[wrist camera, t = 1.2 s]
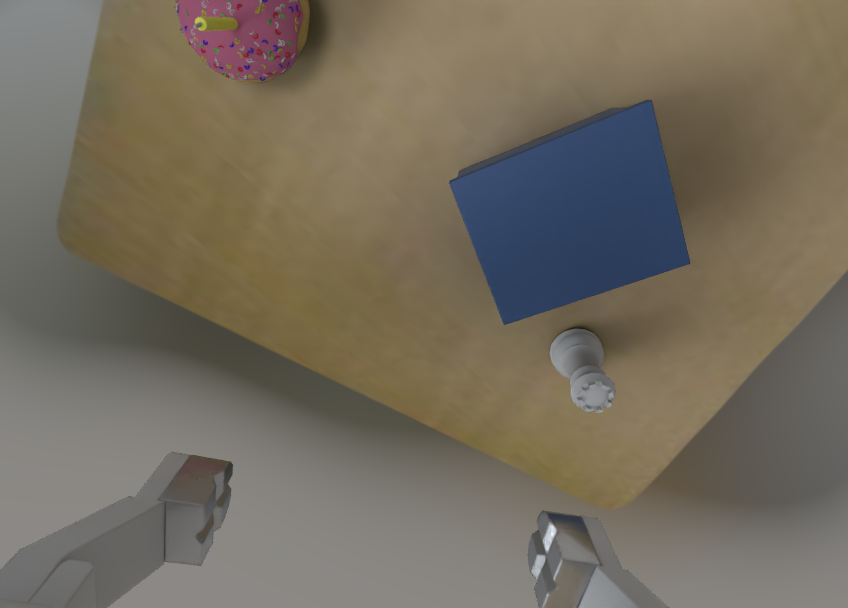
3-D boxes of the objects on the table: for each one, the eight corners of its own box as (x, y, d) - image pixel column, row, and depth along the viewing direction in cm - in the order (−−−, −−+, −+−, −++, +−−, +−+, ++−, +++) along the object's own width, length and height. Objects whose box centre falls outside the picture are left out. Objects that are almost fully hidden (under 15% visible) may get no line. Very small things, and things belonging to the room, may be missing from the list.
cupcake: (343, 64, 36) (285, 43, 25) (243, 102, 38) (147, 98, 27) (298, -68, 33) (211, -158, 22) (193, -21, 35) (61, -83, 24)
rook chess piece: (550, 373, 44) (565, 426, 36) (547, 328, 42) (563, 374, 35) (601, 369, 43) (627, 422, 36) (600, 323, 42) (628, 369, 34)
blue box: (615, 101, 35) (651, 99, 28) (650, 235, 39) (691, 263, 31) (453, 169, 38) (448, 182, 31) (498, 288, 41) (504, 325, 34)
